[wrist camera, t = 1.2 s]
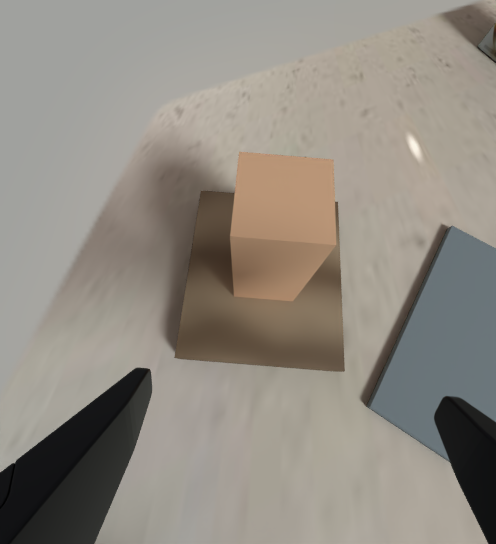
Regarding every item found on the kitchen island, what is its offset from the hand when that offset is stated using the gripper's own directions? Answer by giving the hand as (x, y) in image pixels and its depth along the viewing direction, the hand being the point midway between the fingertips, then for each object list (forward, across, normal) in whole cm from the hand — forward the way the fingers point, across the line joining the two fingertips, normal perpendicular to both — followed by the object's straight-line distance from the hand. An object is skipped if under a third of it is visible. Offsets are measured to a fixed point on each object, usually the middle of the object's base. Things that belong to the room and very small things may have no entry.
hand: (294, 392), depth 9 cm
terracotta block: (+14, 0, +2) cm, 14 cm away
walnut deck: (+15, 0, +4) cm, 16 cm away
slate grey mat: (+12, -18, +6) cm, 22 cm away
